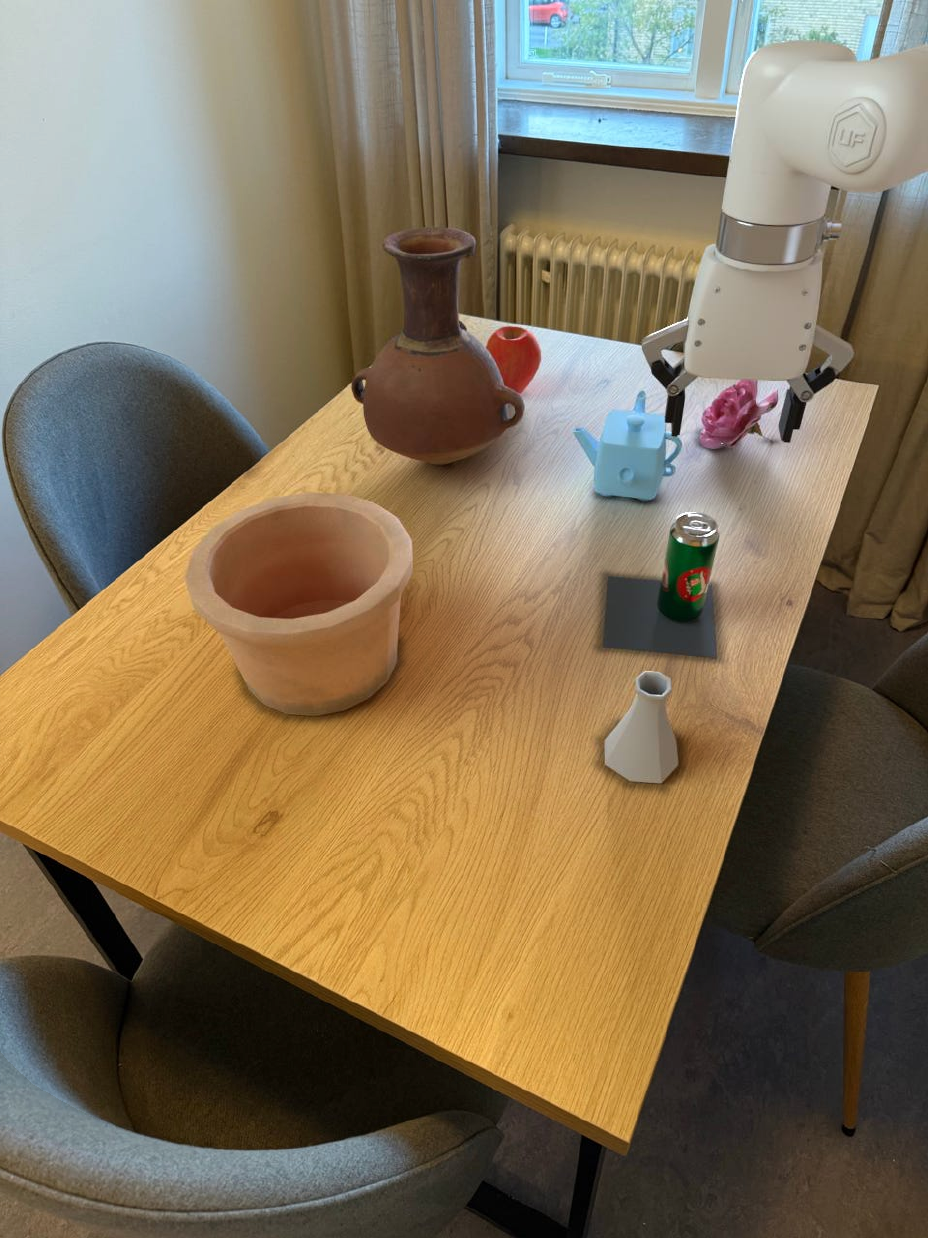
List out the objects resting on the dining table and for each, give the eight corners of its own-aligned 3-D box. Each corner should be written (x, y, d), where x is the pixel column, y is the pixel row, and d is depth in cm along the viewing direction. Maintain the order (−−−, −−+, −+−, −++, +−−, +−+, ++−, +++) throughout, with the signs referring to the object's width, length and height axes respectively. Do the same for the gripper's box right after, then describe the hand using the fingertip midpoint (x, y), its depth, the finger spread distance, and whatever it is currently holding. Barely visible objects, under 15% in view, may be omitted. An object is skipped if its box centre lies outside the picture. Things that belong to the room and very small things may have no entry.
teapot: (669, 529, 105) (681, 460, 99) (559, 515, 108) (563, 447, 101) (679, 454, 118) (690, 388, 111) (580, 443, 121) (585, 379, 114)
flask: (592, 770, 79) (601, 700, 72) (615, 716, 83) (625, 645, 77) (667, 796, 76) (684, 726, 69) (687, 739, 81) (704, 668, 74)
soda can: (663, 590, 97) (678, 505, 88) (706, 602, 95) (726, 516, 87) (650, 617, 93) (665, 531, 85) (695, 630, 92) (715, 544, 84)
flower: (695, 471, 121) (674, 404, 119) (735, 450, 126) (716, 386, 124) (762, 455, 111) (740, 383, 109) (802, 434, 116) (782, 364, 114)
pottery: (353, 767, 80) (333, 663, 70) (176, 694, 87) (135, 590, 78) (456, 626, 94) (451, 522, 84) (295, 573, 101) (274, 473, 91)
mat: (711, 586, 97) (711, 584, 97) (716, 659, 89) (716, 657, 89) (607, 577, 99) (607, 575, 99) (602, 647, 90) (602, 646, 90)
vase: (537, 432, 124) (544, 218, 103) (508, 509, 110) (509, 279, 89) (379, 415, 129) (357, 208, 108) (332, 486, 115) (296, 264, 94)
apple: (546, 386, 134) (549, 320, 126) (529, 411, 128) (530, 344, 121) (496, 378, 136) (496, 313, 129) (477, 402, 131) (476, 336, 123)
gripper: (876, 221, 66) (822, 416, 77) (654, 218, 69) (634, 407, 80) (895, 255, 61) (834, 459, 72) (653, 250, 63) (631, 448, 75)
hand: (728, 431), depth 76 cm, fingers open, 9 cm apart
